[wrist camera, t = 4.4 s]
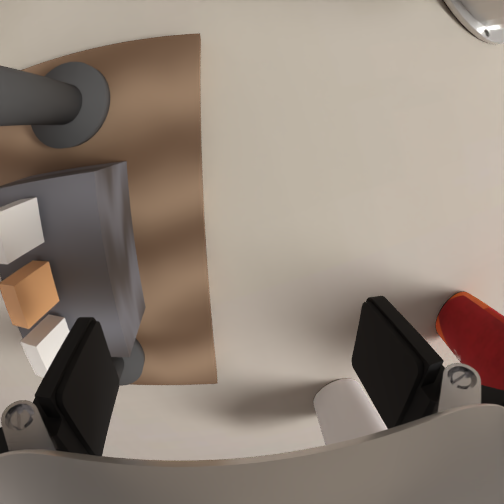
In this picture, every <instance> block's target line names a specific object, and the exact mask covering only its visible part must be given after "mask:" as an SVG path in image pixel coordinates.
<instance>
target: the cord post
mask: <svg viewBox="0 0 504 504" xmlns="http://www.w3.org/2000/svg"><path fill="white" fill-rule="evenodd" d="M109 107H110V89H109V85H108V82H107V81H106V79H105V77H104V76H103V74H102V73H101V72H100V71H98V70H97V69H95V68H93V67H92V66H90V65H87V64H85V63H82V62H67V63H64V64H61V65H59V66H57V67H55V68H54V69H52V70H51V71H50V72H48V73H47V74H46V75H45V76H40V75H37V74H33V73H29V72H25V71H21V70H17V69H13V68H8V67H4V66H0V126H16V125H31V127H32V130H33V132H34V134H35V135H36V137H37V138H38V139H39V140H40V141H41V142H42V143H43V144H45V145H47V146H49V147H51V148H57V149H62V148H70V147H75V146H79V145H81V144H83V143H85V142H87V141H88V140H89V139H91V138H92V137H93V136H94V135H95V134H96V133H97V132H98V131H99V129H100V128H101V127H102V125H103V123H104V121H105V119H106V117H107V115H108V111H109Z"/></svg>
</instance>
